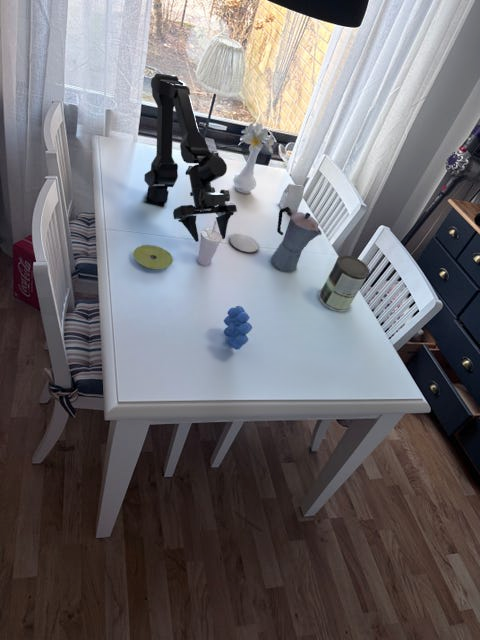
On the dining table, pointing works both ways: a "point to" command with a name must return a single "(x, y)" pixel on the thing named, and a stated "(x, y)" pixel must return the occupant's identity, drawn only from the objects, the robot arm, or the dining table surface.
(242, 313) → the grapes
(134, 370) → the dining table surface
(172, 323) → the dining table surface
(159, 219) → the dining table surface
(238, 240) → the disc
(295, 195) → the white carton
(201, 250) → the smoothie
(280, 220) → the moka pot
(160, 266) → the green grainy disc
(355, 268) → the coffee can
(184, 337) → the dining table surface
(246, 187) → the flower vase
